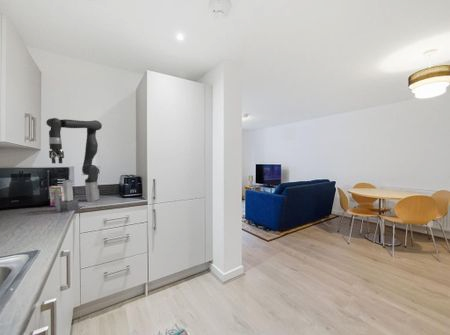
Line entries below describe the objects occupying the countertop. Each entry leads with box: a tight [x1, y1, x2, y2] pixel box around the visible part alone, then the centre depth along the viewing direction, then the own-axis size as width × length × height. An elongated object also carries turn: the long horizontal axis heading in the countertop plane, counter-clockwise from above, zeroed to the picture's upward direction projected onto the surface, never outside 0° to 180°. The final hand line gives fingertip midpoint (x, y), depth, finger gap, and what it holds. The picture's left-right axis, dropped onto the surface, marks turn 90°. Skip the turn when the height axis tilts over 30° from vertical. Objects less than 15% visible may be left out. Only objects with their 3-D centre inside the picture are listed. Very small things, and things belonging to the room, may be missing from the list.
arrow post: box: [54, 191, 62, 214], centre depth 146 cm, size 4×2×16 cm, turn 160°
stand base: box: [53, 198, 86, 214], centre depth 153 cm, size 14×14×7 cm
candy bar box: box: [48, 185, 64, 207], centre depth 164 cm, size 11×5×16 cm, turn 84°
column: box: [61, 179, 74, 201], centre depth 152 cm, size 5×4×16 cm
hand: (57, 163), depth 158 cm, fingers open, 8 cm apart
